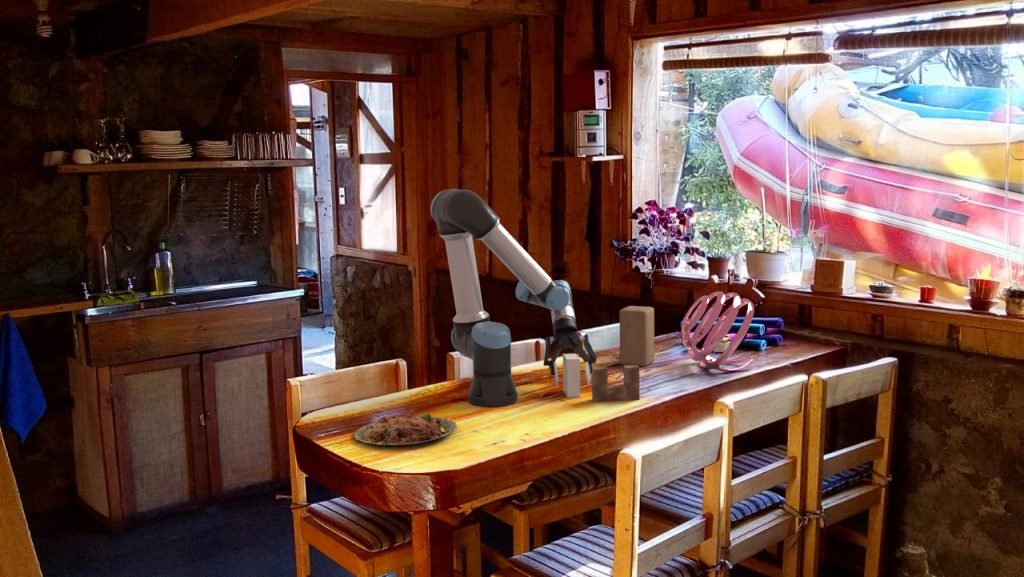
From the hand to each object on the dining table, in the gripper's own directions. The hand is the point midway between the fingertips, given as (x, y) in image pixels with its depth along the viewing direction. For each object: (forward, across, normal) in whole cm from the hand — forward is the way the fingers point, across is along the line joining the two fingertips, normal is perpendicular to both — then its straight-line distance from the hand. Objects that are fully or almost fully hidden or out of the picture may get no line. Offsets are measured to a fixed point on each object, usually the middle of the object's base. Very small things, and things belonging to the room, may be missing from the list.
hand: (573, 382), depth 271 cm
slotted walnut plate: (+7, -12, +1) cm, 14 cm away
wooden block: (-25, -30, -32) cm, 50 cm away
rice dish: (+24, +51, +17) cm, 59 cm away
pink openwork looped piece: (-16, -55, -22) cm, 61 cm away
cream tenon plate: (+1, 0, -5) cm, 5 cm away
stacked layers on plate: (-34, -65, -41) cm, 84 cm away
